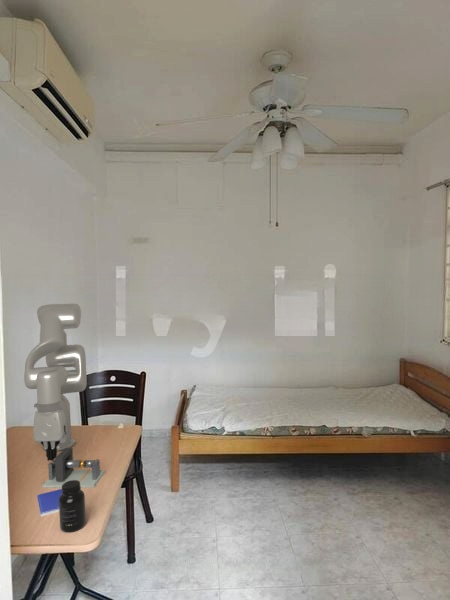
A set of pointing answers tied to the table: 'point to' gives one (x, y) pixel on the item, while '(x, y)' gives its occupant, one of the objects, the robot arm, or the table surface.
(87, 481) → the board
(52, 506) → the hard drive
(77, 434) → the table surface
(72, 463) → the rail
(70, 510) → the supplement bottle
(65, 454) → the collar
